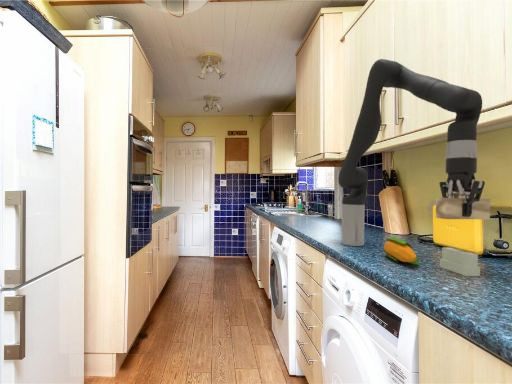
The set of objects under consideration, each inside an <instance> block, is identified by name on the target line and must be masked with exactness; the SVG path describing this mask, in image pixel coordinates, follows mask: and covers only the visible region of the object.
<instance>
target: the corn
mask: <svg viewBox="0 0 512 384" xmlns="http://www.w3.org/2000/svg"><path fill="white" fill-rule="evenodd" d="M383 248H384V250H383V251H384V253H385V255H386V256H387V257H389V259H391V260H393V261H395V262H397V263H399V261H400V262H403V263H408V264H410V265H419V264H420V260H419V258H418V257H417V255H416V253H415V252H414V250H413V248H412V246H411V245H410V244H409V243H408V241H406V240H404V239H402V238H397V237H389V238H387V239H386V242H385V243H384V246H383Z"/></svg>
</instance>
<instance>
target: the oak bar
mask: <svg viewBox="0 0 512 384" xmlns="http://www.w3.org/2000/svg"><path fill="white" fill-rule="evenodd" d="M467 199H468V197H467ZM462 204H464V203H463V200H462V197H458V198H454V197H453V198H443V197H435V218H436V219H441V220H490V219H491V198H484V197H483V198H481V197H480V200H479V201H478V202H474V203H472V214H471V216H470V217H463V216H462Z"/></svg>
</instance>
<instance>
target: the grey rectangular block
mask: <svg viewBox="0 0 512 384" xmlns="http://www.w3.org/2000/svg"><path fill="white" fill-rule="evenodd" d="M478 261H479V255H478V254H477V253H473V252H469V251H465V250H462V249H461V250H460V249H457V248H452V247H442V248H441V258H439V267H440V268H441V269H445V270H447V271H450V272H453V273H456V274H459V275H463V276H465V277H481V266H478V263H479V262H478Z"/></svg>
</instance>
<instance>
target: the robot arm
mask: <svg viewBox="0 0 512 384" xmlns="http://www.w3.org/2000/svg"><path fill="white" fill-rule="evenodd" d="M384 88H394V89H401V90H405V91H407V92H409V93H410V94H412V95H413V96H415V97H416V98H417V99H420V100H422V101H425V102H427V103H431V104H433V105H436V106H437V107H440V108H441V109H443V110H445V111H447V112H450V113H453V114H454V113H455V119H454V121H453V122H451V123H450V124H449V125H448V126H447V135H446V137H447V141H446V142H447V143H446V150H445V173H446V174H447V175H448V176H447V178H446V180H445V181H440V182H439V187H440V193H441V196H442V197H441V198H460V197H459V196H461V198H462V200H463V203H464V204H462V216H463V217H470V216H471V214H472V203H474V202H478V201H479V200H480V198H481V197H482V193H483V191H484V188H485V184H486V182H485V181H484V180H480V179H479V180H478V179H476V177H475V174H476V173H477V171H478V144H477V131H478V130H477V126H478V123H479V119H480V116H481V113H482V108H483V98H482V94H481V93H480V92H478V91H477V90H474V89H472V88H467V87H463V86H460V85H456V84H452V83H449V82H448V81H445V80H442V79H439V78H436V77H433V76H429V75H426V74H425V75H424V74H421V73H418V72H415V71H413V70H411V69H409V68H408V67H406V66H405V65H403V64H401V63H400V62H398V61H395V60H392V59H391V60H389V59H386V58H379V59H377V60H376V61H374V63H373V64H372V66H371V68H370V70H369V73H368V76H367V82H366V86H365V90H364V91H365V92H364V96H363V99H362V104H361V107H360V111H359V114H358V117H357V121H356V124H355V128H354V130H353V134H352V138H351V141H350V144H349V147H348V149H347V153H346V155H345V159H344V161H343V163H342V166H341V168H340V170H339V174H338V184H339V186H340V187H341V188H342V189H351V191H350V193H349V194H348V195H346V196H344V197H342V200H341V201H342V202H341V233H340V234H341V236H340V239H341V244H342V245H344V246H354V247H361V246H364V245H365V210H366V207H365V204H366V199H367V197H368V196H367V195H368V194H367V193H368V183H369V182H368V181H369V180H368V179H369V176H368V172H367V170H366V169H365V168H363V167H361V166H359V167H358V163H359V162H360V160H361V158H362V157H363V156H364V155H365V154H366V153H367V151H368V150H369V149H370V148H371V147H372V146H374V144H375V142H376V141H377V139H378V136H379V133H380V130H381V127H382V123H383V121H382V114H381V109H380V108H381V107H380V101H381V100H380V99H381V95H382V92H383V89H384ZM467 198H468V199H467Z"/></svg>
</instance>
